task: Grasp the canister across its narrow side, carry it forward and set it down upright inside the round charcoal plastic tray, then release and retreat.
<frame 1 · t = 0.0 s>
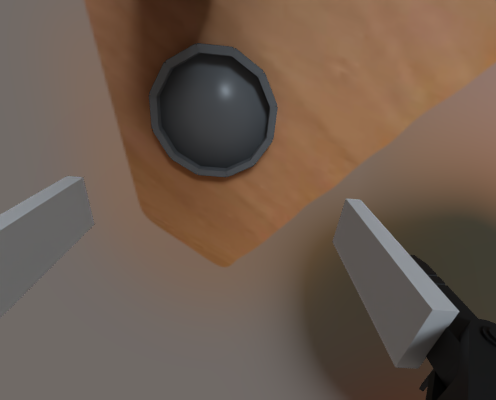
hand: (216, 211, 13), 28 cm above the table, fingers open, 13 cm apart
round tray: (215, 115, 37), on the table
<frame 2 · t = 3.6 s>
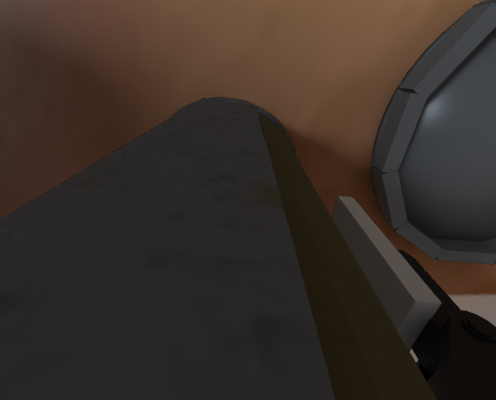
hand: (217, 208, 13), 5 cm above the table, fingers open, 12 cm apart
canister: (225, 170, 18), on the table
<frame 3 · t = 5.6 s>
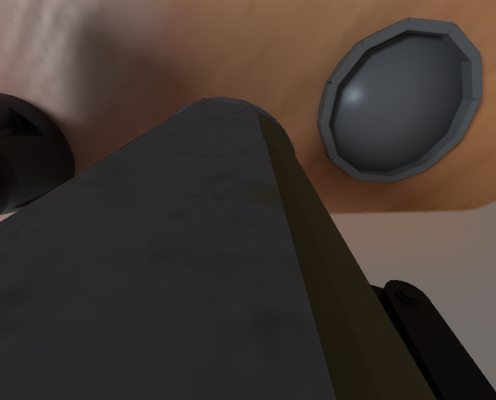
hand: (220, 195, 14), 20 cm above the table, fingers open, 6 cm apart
canister: (225, 170, 18), point 16 cm above the table, touching hand
round tray: (390, 110, 31), on the table
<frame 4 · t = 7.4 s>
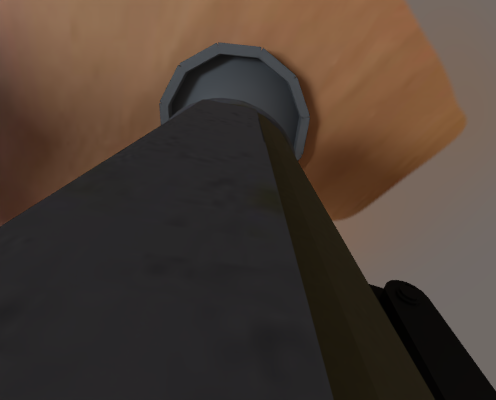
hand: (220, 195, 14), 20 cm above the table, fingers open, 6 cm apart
canister: (225, 171, 18), point 16 cm above the table, touching hand
round tray: (235, 126, 32), on the table
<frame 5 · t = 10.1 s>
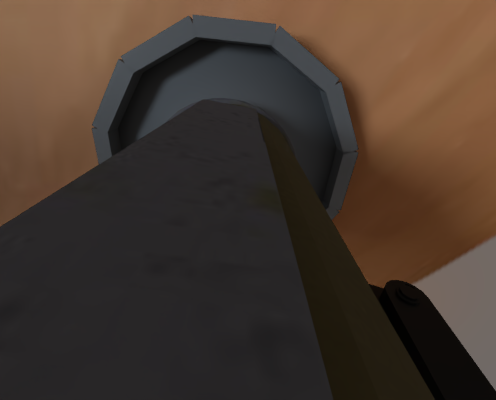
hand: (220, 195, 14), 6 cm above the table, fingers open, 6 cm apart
canister: (225, 171, 18), point 2 cm above the table, touching hand
round tray: (228, 162, 19), on the table
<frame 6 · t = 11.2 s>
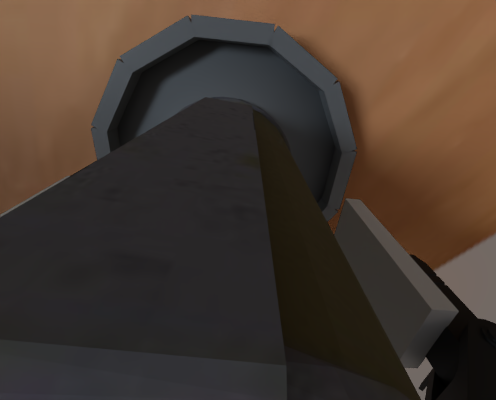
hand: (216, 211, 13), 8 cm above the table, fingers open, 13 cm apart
canister: (225, 165, 19), resting on round tray
round tray: (227, 162, 20), on the table
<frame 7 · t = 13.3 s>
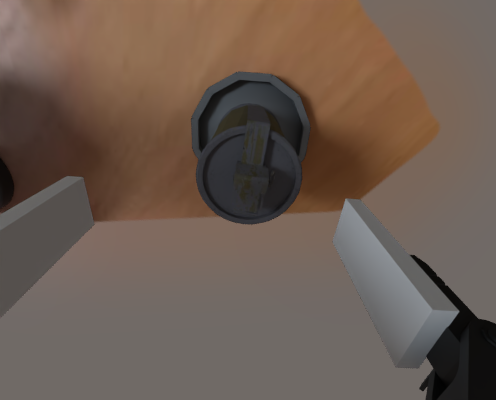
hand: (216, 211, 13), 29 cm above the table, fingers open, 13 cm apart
canister: (249, 136, 39), resting on round tray
round tray: (250, 135, 40), on the table
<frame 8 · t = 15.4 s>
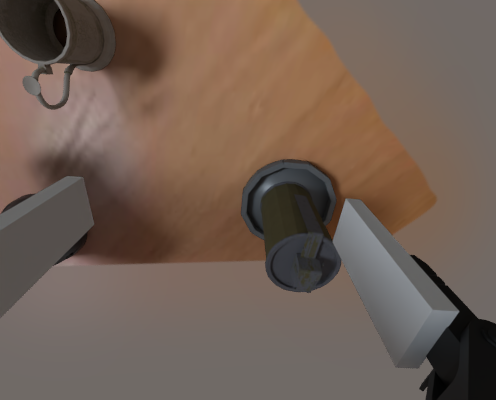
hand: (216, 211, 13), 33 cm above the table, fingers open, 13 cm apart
mug: (85, 51, 38), on the table
canister: (286, 203, 49), resting on round tray
round tray: (286, 202, 50), on the table
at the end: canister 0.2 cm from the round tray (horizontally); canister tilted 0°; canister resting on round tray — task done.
